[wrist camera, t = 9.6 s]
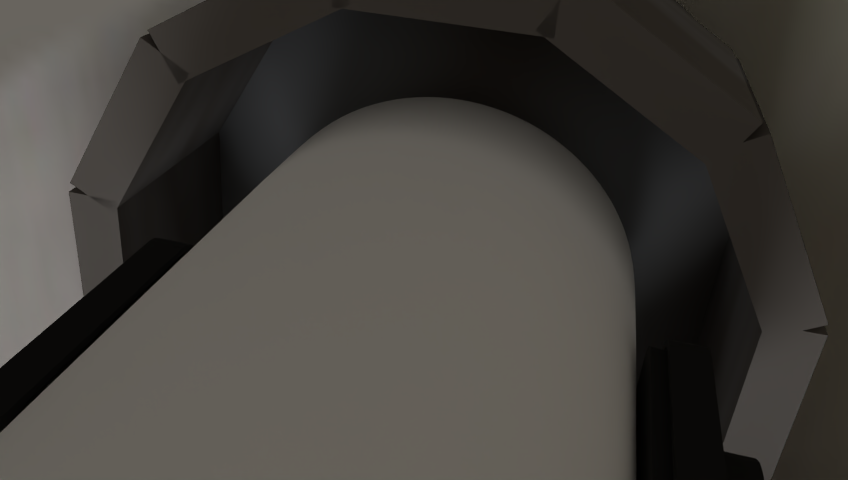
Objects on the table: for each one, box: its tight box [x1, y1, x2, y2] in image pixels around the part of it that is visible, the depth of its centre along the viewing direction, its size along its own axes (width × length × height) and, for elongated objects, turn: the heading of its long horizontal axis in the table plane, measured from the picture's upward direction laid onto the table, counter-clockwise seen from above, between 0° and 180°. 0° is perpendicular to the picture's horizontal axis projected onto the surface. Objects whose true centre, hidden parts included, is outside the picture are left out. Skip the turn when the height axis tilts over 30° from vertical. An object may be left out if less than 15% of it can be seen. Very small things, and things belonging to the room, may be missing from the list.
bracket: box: [69, 0, 828, 480], centre depth 13 cm, size 20×15×12 cm
